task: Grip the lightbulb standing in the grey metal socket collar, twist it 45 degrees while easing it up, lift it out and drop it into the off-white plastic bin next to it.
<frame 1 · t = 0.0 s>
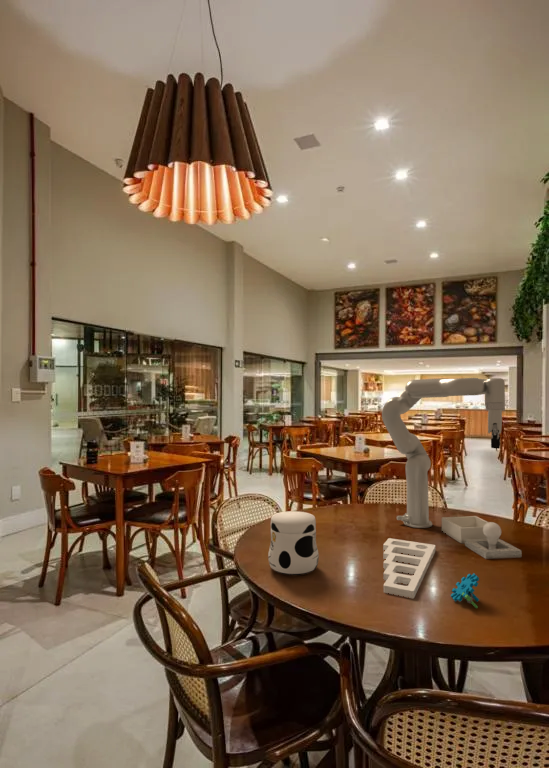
hand: (495, 447, 191), 37 cm above the table, tool pointing down, fingers open, 9 cm apart
lightbulb: (492, 551, 170), resting in socket collar
socket collar: (492, 551, 170), on the table
milk container: (293, 570, 153), on the table
blue lumpy piece: (465, 602, 130), on the table
holder: (399, 569, 155), on the table
bin: (468, 536, 188), on the table
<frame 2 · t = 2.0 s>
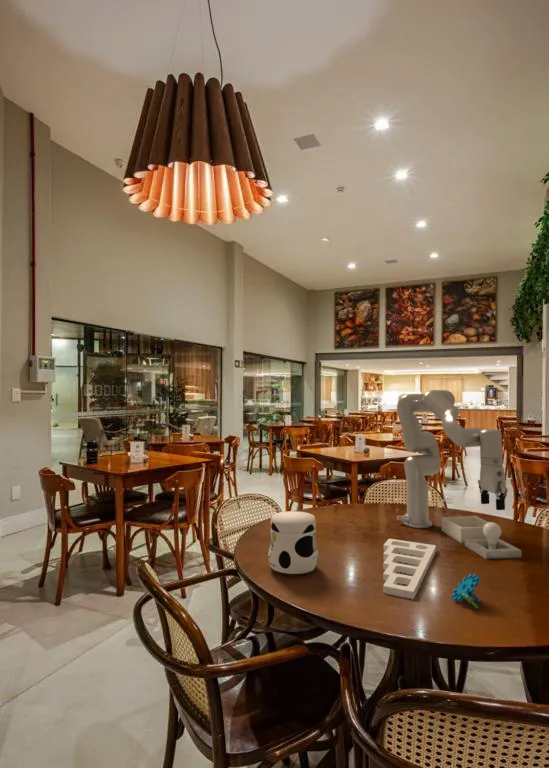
hand: (492, 506, 170), 17 cm above the table, tool pointing down, fingers open, 9 cm apart
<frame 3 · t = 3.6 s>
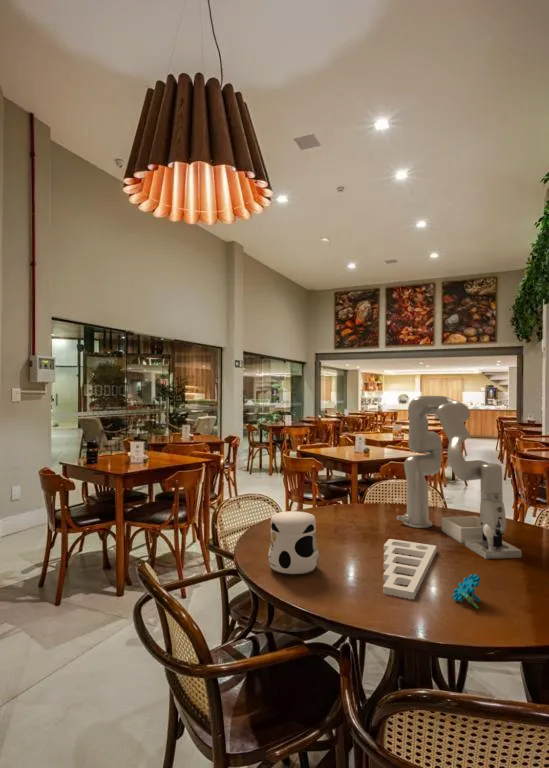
hand: (492, 543, 170), 3 cm above the table, tool pointing down, fingers closed on lightbulb, 6 cm apart
lightbulb: (492, 551, 170), resting in socket collar, touching gripper
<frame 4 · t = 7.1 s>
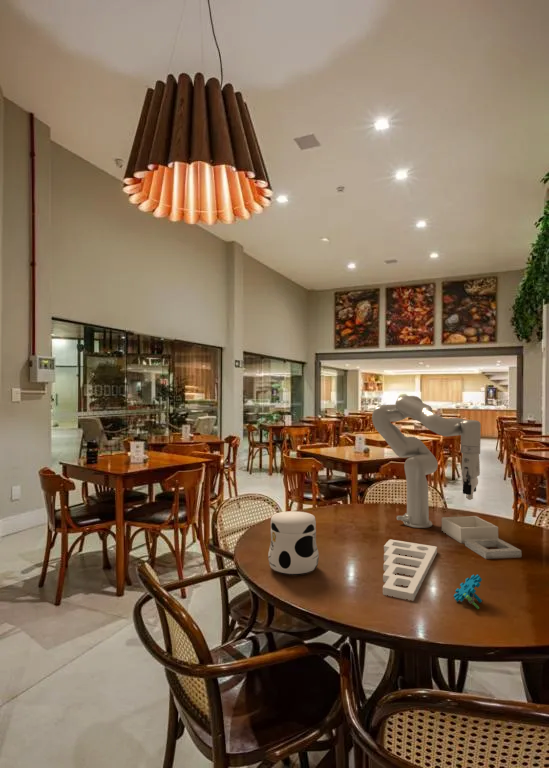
hand: (469, 492, 187), 19 cm above the table, tool pointing down, fingers closed on lightbulb, 6 cm apart
lightbulb: (469, 500, 187), point 16 cm above the table, touching gripper
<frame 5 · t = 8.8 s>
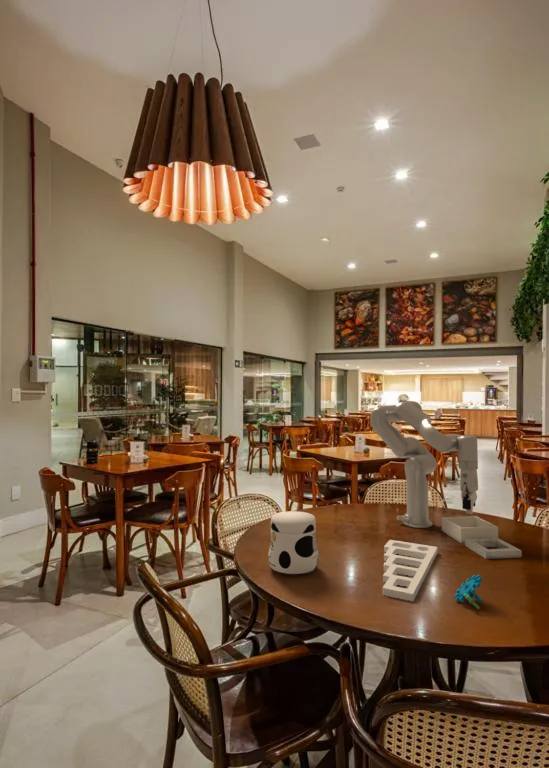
hand: (469, 507, 188), 12 cm above the table, tool pointing down, fingers closed on lightbulb, 6 cm apart
lightbulb: (469, 515, 188), point 9 cm above the table, touching gripper
when the fingers open (5 cm above the table, at t = 10.5 s): lightbulb drops 1 cm, resting on bin.
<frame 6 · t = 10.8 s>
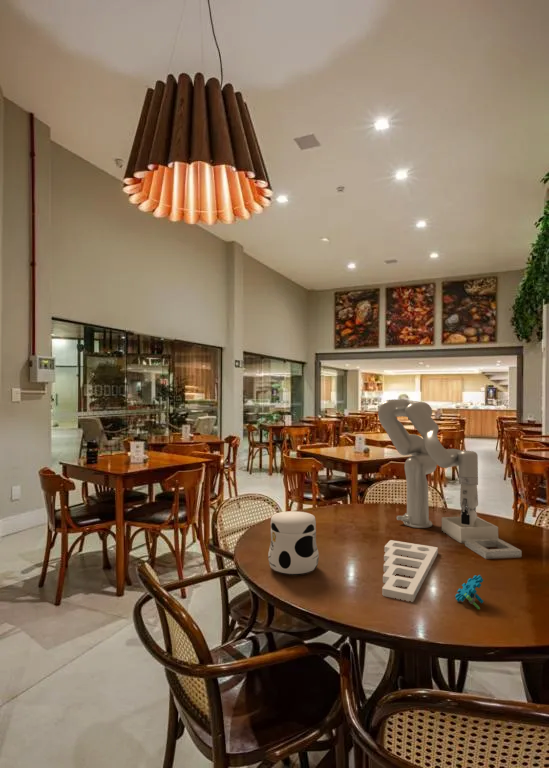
hand: (468, 521, 188), 6 cm above the table, tool pointing down, fingers open, 9 cm apart
lightbulb: (468, 534, 188), point 1 cm above the table, touching bin
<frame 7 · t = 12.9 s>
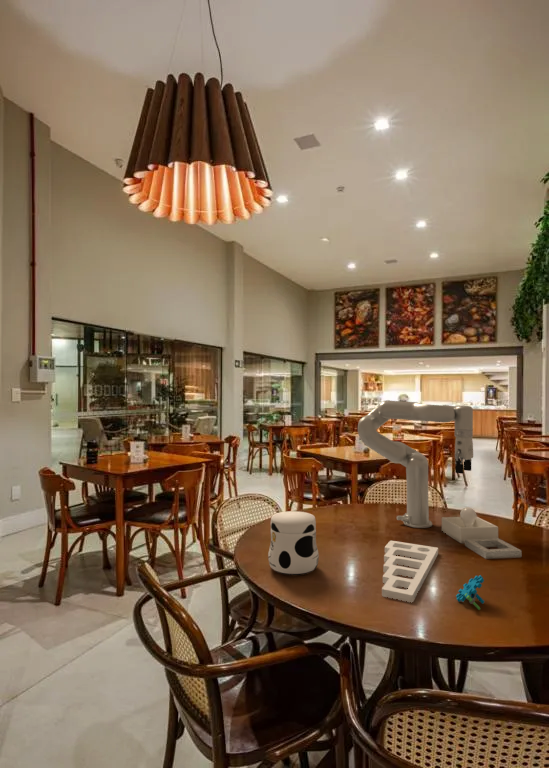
hand: (463, 471, 199), 25 cm above the table, tool pointing down, fingers open, 9 cm apart
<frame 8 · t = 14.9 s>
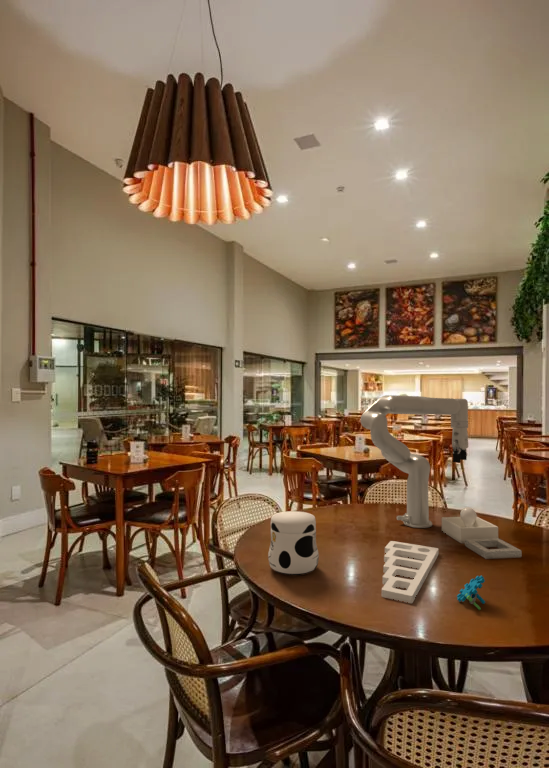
hand: (459, 461, 210), 28 cm above the table, tool pointing down, fingers open, 9 cm apart
at the end: lightbulb inside the target area on the bin (0.1 cm from its centre), point 0.8 cm above the bin's base; the gripper is holding nothing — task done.
